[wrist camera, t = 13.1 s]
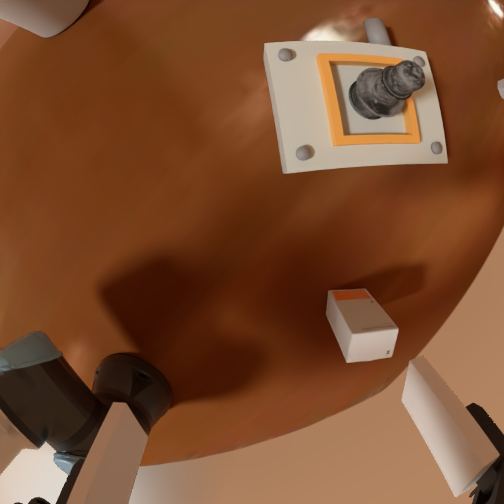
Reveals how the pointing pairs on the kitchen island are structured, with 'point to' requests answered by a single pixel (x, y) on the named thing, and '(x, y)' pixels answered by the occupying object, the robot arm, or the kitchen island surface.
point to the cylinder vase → (42, 14)
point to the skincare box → (360, 325)
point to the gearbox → (348, 106)
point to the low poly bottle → (501, 87)
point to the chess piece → (385, 89)
